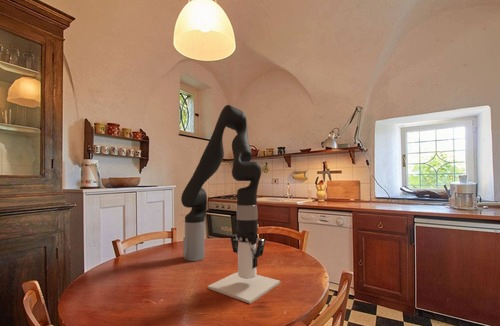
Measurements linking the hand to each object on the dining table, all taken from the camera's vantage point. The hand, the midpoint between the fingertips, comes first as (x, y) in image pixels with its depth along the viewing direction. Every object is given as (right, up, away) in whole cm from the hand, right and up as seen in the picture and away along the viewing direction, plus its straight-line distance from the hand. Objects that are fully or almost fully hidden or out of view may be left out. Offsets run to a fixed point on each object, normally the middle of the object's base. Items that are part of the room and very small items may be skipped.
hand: (247, 266), depth 86 cm
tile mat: (-1, -7, 0) cm, 7 cm away
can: (0, -3, 0) cm, 3 cm away
